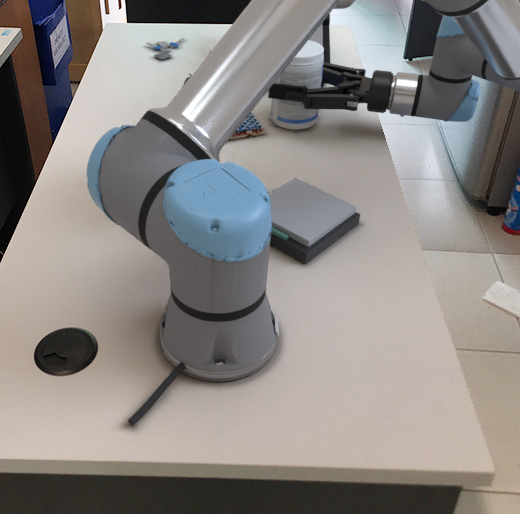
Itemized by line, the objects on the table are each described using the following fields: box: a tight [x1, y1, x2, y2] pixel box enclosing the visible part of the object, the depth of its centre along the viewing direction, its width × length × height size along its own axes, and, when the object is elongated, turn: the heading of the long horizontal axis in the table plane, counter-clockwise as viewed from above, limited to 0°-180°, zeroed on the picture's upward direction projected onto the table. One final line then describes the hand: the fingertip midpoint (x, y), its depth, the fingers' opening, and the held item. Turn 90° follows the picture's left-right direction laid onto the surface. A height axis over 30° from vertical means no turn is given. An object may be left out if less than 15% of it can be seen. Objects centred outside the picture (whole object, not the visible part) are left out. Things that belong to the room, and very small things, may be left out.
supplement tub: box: [270, 40, 324, 131], centre depth 123 cm, size 10×10×15 cm
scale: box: [268, 177, 361, 265], centre depth 100 cm, size 14×14×3 cm
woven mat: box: [229, 112, 265, 140], centre depth 125 cm, size 10×11×2 cm
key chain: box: [146, 37, 185, 60], centre depth 155 cm, size 14×8×1 cm, turn 167°
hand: (274, 79), depth 123 cm, fingers closed on supplement tub, 9 cm apart
